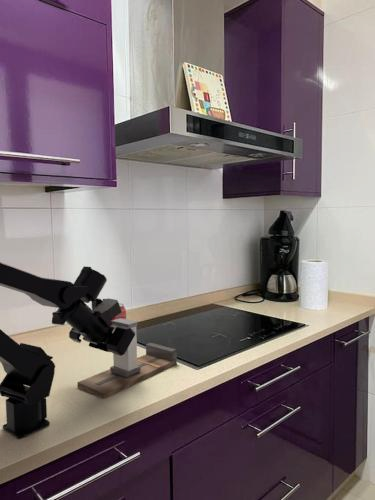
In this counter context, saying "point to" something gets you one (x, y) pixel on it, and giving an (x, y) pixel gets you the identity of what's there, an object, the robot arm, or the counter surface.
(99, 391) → the slider base
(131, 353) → the fader tab
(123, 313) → the soda can
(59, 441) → the counter surface
